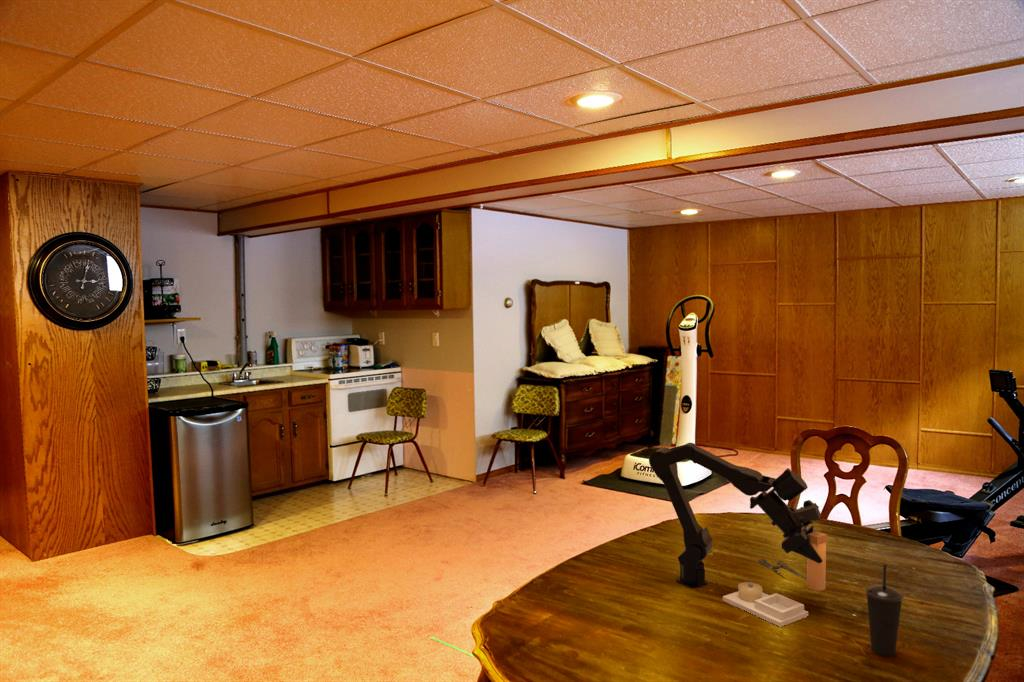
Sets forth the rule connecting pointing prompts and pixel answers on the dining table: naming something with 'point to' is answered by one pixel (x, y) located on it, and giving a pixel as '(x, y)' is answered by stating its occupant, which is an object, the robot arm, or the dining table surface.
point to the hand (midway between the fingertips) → (822, 559)
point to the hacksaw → (781, 566)
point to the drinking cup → (883, 616)
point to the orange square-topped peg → (814, 569)
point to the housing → (766, 604)
